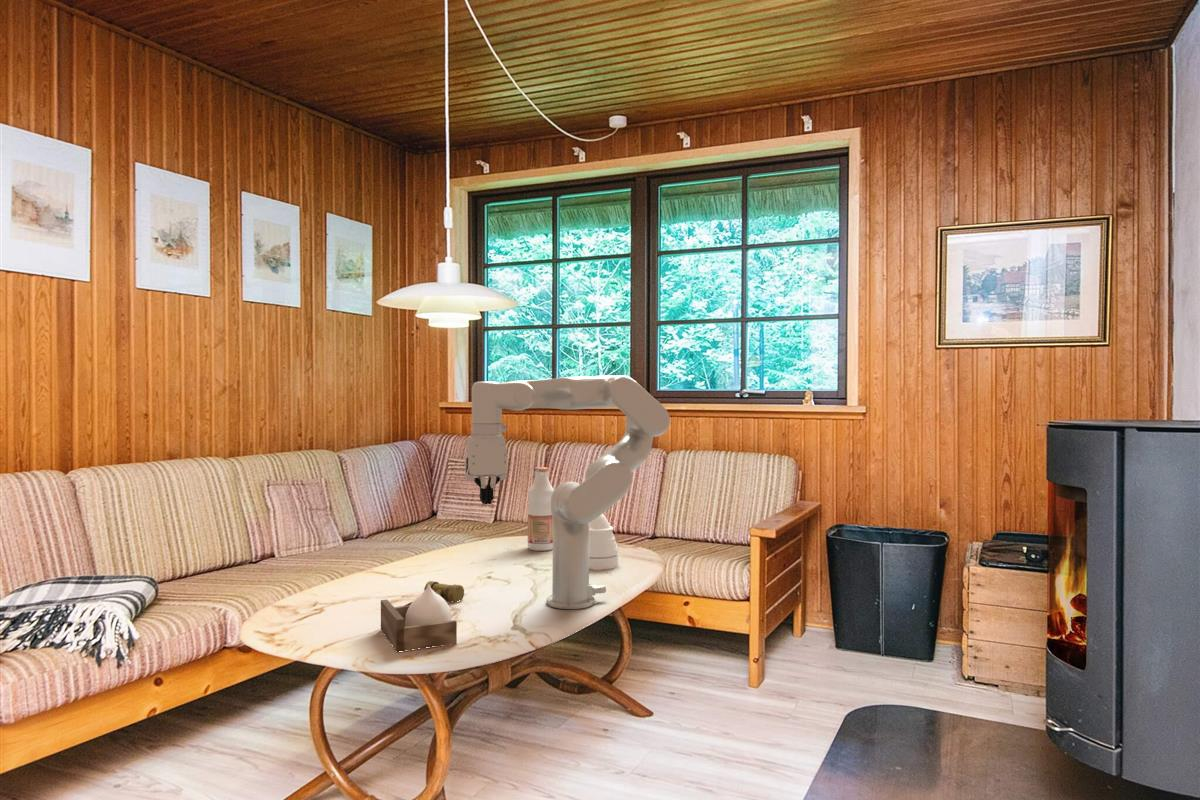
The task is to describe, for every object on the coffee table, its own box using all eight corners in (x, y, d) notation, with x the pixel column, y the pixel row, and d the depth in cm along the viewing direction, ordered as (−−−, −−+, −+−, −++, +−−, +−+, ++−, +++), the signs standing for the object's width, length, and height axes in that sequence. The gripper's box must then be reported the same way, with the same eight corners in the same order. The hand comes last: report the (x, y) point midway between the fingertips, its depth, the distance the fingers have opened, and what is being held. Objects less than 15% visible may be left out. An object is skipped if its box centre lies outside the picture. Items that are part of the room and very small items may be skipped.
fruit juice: (522, 547, 275) (522, 467, 274) (545, 544, 281) (545, 465, 280) (537, 552, 267) (537, 469, 267) (560, 549, 273) (560, 468, 273)
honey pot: (577, 560, 257) (577, 504, 256) (617, 560, 257) (617, 504, 257) (577, 569, 244) (578, 511, 243) (619, 569, 244) (619, 511, 244)
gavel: (411, 608, 191) (380, 603, 195) (412, 627, 191) (381, 621, 196) (464, 583, 209) (434, 578, 214) (465, 600, 210) (434, 595, 214)
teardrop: (409, 628, 185) (409, 577, 185) (456, 628, 185) (457, 577, 185) (398, 643, 174) (398, 589, 174) (448, 643, 174) (448, 589, 174)
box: (436, 622, 189) (436, 593, 189) (456, 644, 174) (456, 612, 174) (380, 630, 183) (380, 600, 183) (396, 652, 168) (396, 620, 168)
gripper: (509, 429, 205) (509, 499, 205) (453, 430, 198) (453, 503, 199) (520, 430, 198) (519, 503, 199) (462, 432, 192) (462, 507, 192)
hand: (486, 503), depth 199 cm, fingers closed
